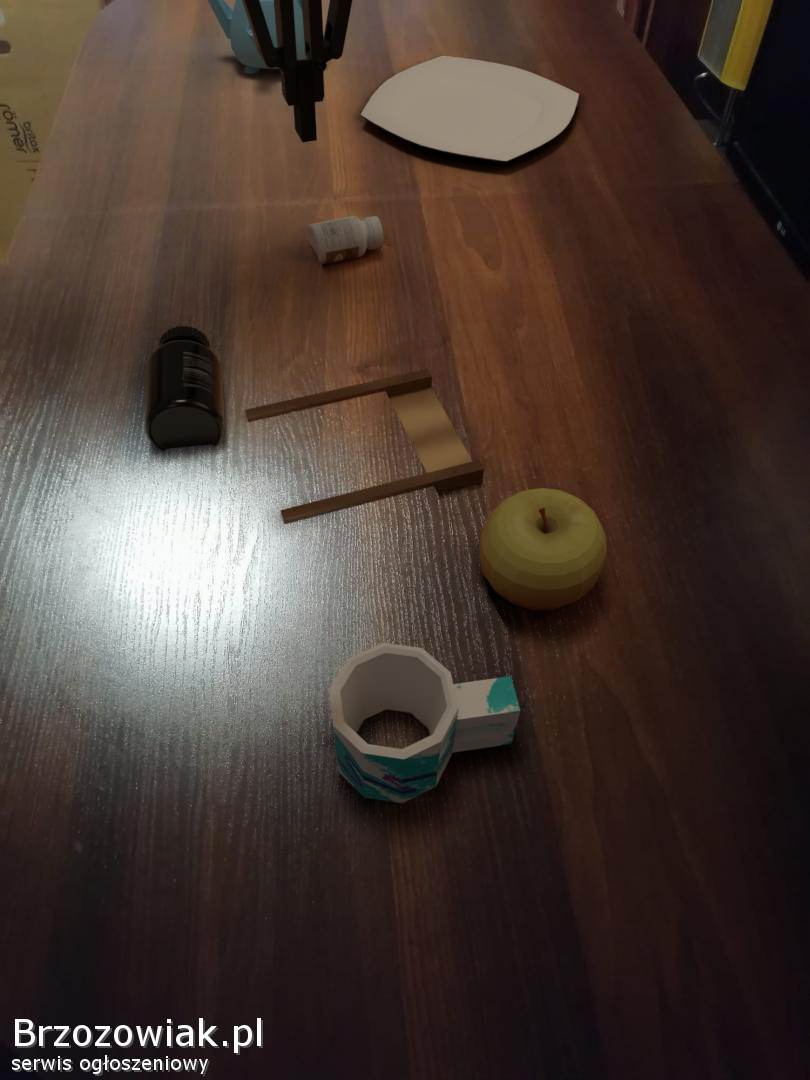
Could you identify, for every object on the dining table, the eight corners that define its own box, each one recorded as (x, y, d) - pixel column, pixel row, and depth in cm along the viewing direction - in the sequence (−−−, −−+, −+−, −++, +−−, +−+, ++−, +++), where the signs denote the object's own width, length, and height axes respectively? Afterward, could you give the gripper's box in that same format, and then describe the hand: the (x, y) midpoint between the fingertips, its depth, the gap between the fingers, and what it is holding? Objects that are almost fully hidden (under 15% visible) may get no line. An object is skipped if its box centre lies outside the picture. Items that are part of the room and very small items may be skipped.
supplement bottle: (229, 457, 78) (226, 369, 85) (218, 401, 73) (217, 312, 80) (151, 463, 77) (156, 374, 84) (135, 407, 72) (141, 317, 79)
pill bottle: (321, 266, 94) (388, 252, 96) (313, 224, 92) (381, 211, 94) (312, 264, 98) (376, 250, 100) (304, 223, 96) (369, 210, 98)
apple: (496, 517, 74) (507, 451, 68) (607, 551, 72) (629, 487, 66) (459, 605, 68) (466, 542, 62) (578, 644, 66) (599, 584, 60)
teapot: (207, 55, 129) (194, -31, 120) (286, 34, 134) (279, -50, 125) (258, 95, 122) (248, 6, 113) (339, 71, 127) (336, -15, 118)
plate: (513, 189, 107) (515, 174, 106) (334, 130, 116) (334, 116, 114) (600, 105, 122) (603, 90, 120) (435, 58, 130) (436, 44, 128)
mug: (330, 709, 62) (323, 649, 56) (491, 686, 64) (503, 625, 57) (344, 819, 57) (338, 768, 51) (518, 792, 59) (535, 738, 52)
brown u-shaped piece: (247, 423, 81) (244, 409, 79) (427, 382, 85) (427, 368, 83) (285, 533, 72) (283, 520, 71) (482, 482, 76) (484, 468, 75)
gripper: (214, -145, 63) (250, 163, 82) (381, -156, 66) (380, 143, 85) (194, -172, 68) (232, 126, 86) (352, -182, 71) (356, 109, 89)
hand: (305, 134), depth 86 cm, fingers closed
